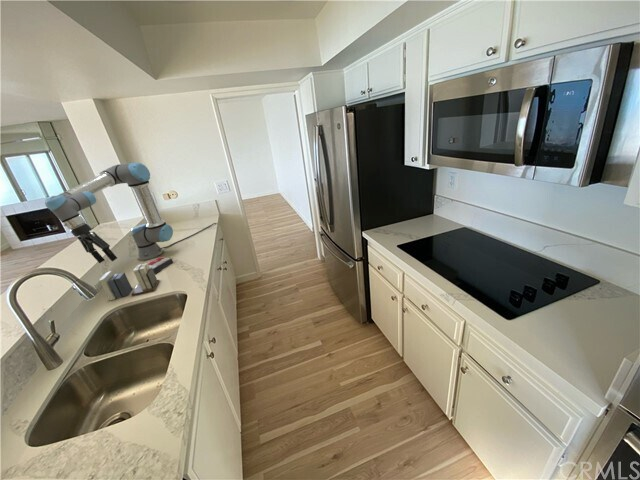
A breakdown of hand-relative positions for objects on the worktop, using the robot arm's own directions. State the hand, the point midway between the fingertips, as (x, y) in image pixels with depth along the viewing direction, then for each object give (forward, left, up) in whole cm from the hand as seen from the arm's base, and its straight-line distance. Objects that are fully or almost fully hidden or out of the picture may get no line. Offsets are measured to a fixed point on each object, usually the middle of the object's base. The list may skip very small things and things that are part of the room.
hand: (108, 260), depth 139 cm
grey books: (0, 0, -21) cm, 21 cm away
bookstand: (-8, +7, -21) cm, 24 cm away
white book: (+4, -3, -21) cm, 21 cm away
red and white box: (-25, -13, -21) cm, 35 cm away
